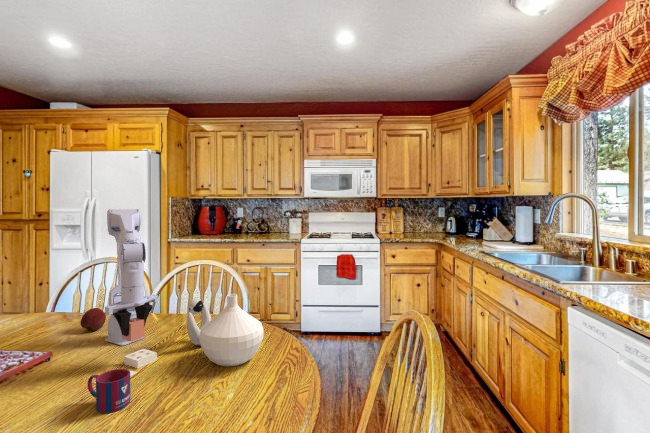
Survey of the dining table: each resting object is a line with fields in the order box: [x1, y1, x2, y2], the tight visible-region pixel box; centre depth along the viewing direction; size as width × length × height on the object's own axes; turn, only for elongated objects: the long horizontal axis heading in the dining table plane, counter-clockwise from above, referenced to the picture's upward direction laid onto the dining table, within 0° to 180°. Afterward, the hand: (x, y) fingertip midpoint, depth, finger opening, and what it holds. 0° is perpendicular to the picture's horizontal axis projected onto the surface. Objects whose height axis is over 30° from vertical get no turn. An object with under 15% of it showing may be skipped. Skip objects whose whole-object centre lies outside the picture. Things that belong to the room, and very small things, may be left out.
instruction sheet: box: [93, 370, 138, 385], centre depth 91 cm, size 6×8×1 cm
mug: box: [87, 368, 131, 414], centre depth 80 cm, size 7×10×7 cm
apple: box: [80, 307, 107, 332], centre depth 125 cm, size 7×8×8 cm
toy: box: [186, 297, 212, 347], centre depth 113 cm, size 11×7×15 cm, turn 168°
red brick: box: [122, 318, 145, 342], centre depth 99 cm, size 4×4×5 cm
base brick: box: [123, 348, 158, 369], centre depth 101 cm, size 6×6×2 cm
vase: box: [200, 293, 265, 367], centre depth 103 cm, size 18×18×19 cm
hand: (133, 332), depth 99 cm, fingers closed on red brick, 4 cm apart
